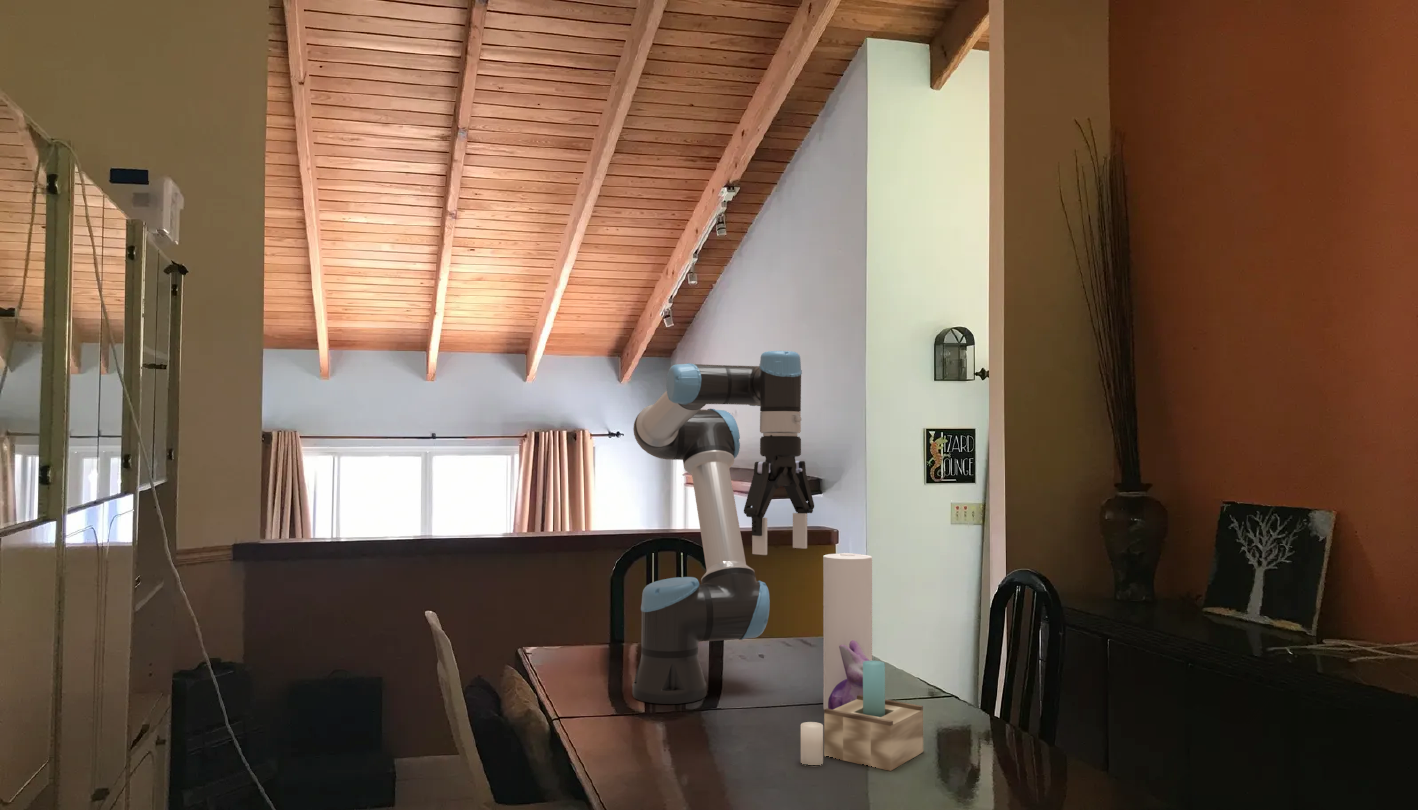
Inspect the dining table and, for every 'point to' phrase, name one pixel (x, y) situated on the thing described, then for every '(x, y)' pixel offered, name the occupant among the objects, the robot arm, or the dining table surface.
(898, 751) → the socket block
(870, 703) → the teal peg
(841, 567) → the cylinder container
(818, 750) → the cream peg
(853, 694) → the figurine
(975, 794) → the dining table surface
